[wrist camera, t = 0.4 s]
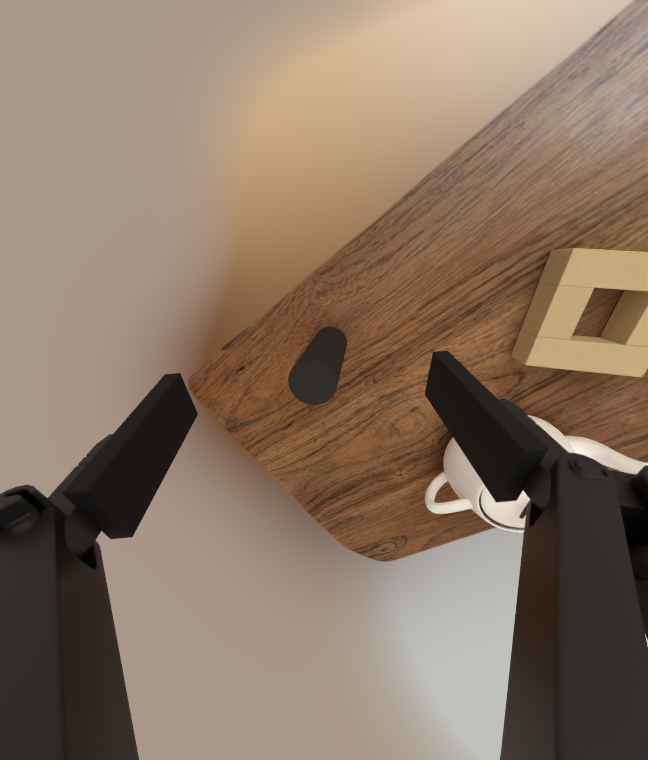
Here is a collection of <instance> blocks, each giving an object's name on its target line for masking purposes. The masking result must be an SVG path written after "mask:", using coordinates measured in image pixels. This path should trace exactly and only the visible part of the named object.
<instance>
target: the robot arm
mask: <svg viewBox="0 0 648 760" xmlns="http://www.w3.org/2000/svg"><path fill="white" fill-rule="evenodd" d="M425 395H426V397H427V398H428V400H429V401H430V403H431V404H432V406H433V408H434V409H435V411H436V412H437V414H438V415H439V417H440V418H441V420H442V421H443V423H444V424H445V426H446V427H447V429H448V430H449V432H450V433H451V435H452V436H453V438H454V439H455V441H456V442H457V444H458V446H459V447H460V449H461V450H462V452H463V453H464V455H465V456H466V458H467V459H468V461H469V462H470V464H471V465H472V467H473V468H474V470H475V471H476V473H477V474H478V476H479V477H480V479H481V480H482V482H483V484H484V485H485V487H486V488H487V490H488V491H489V493H490V494H491V496H492V497H493V499H494V500H495V502H496V503H497V502H507V501H517V499H518V498H519V496H520V494H521V493H522V491H524V492H525V494H526V495H527V496H528V497H529V499H530V500H529V502H528V503H527V505H526V506H525V508H524V509H523V511H522V512H521V514H520V516H519V517H520V518H522V519H523V518H524V516H525V515H526V519H525V528H524V538H523V547H522V557H521V567H520V576H519V586H518V595H517V605H516V615H515V625H514V634H513V643H512V654H511V662H510V672H509V682H508V692H507V702H506V710H505V721H504V730H503V739H502V749H501V757H500V760H648V647H647V642H646V637H645V634H646V636H647V639H648V465H647V466H644V467H643V468H642V469H641V470H640V471H639V472H638V473H637V474H630V473H624V472H618V471H611V470H608V469H607V468H606V467H605V466H604V465H602V464H601V463H599V462H597V461H596V460H594V459H592V458H590V457H587V456H585V455H582V454H577V453H569V452H568V451H567V450H566V449H564V448H563V447H562V446H561V445H560V444H559V443H558V442H557V441H556V440H555V439H553V438H552V437H551V436H550V435H549V434H548V433H547V432H546V431H545V430H544V429H542V428H541V427H540V426H539V425H538V424H536V422H535V421H534V420H533V419H532V418H530V417H528V415H527V414H526V413H525V412H524V411H523V410H522V409H521V408H519V407H518V406H517V405H515V404H513V403H511V402H509V401H508V400H506V399H500V400H498V399H497V398H496V397H495V396H494V395H493V394H492V393H491V392H490V391H489V390H487V389H486V388H485V387H484V386H483V385H482V384H481V383H480V382H479V381H478V380H477V379H476V378H475V377H474V376H473V375H472V374H471V373H470V372H469V371H468V370H467V369H466V368H465V367H464V366H463V365H462V364H461V363H460V362H459V361H458V360H457V359H456V358H455V357H453V356H452V355H451V354H450V353H449V352H448V351H438V352H433V355H432V360H431V365H430V370H429V375H428V380H427V386H426V391H425ZM197 415H198V414H197V411H196V409H195V406H194V404H193V402H192V399H191V397H190V395H189V393H188V390H187V388H186V386H185V384H184V381H183V379H182V377H181V374H180V373H177V374H165V375H164V376H163V377H162V379H161V380H160V381H159V382H158V383H157V385H155V387H154V388H153V389H152V390H151V391H150V392H149V393H148V395H147V396H146V397H145V398H144V399H143V400H142V402H141V403H140V404H139V405H138V406H137V407H136V409H135V410H134V411H133V412H132V413H131V414H130V415H129V417H128V418H127V419H126V420H125V421H124V422H123V423H122V425H121V426H120V427H119V428H118V429H117V430H116V432H115V433H114V434H110V435H108V436H107V437H106V438H104V439H103V440H102V441H100V442H99V443H97V444H96V445H95V446H94V447H93V448H92V450H91V451H90V452H89V453H88V454H87V457H84V458H83V460H82V461H81V462H80V463H79V466H77V467H75V468H74V470H73V471H72V472H71V473H70V474H69V475H68V476H67V477H66V478H65V480H64V481H63V482H62V483H61V484H60V485H59V486H58V487H57V489H55V491H54V492H53V493H52V494H51V495H50V496H49V497H48V498H46V497H45V496H44V495H43V494H42V493H41V492H40V491H38V490H37V489H36V488H35V487H34V486H30V485H24V486H18V487H15V488H12V489H10V490H7V491H5V492H3V493H1V494H0V760H139V757H138V752H137V746H136V741H135V735H134V730H133V725H132V719H131V714H130V709H129V703H128V698H127V692H126V686H125V681H124V676H123V670H122V664H121V659H120V654H119V648H118V643H117V637H116V632H115V627H114V621H113V615H112V610H111V604H110V599H109V594H108V588H107V583H106V577H105V572H104V567H103V561H102V556H101V550H100V546H99V544H98V543H97V542H96V541H95V540H96V538H97V536H98V535H99V534H100V532H101V531H102V532H104V533H105V534H106V535H107V536H108V537H109V538H110V539H117V538H127V537H133V535H134V533H135V531H136V529H137V527H138V525H139V523H140V522H141V520H142V518H143V516H144V514H145V512H146V510H147V509H148V507H149V505H150V503H151V501H152V499H153V497H154V495H155V494H156V492H157V490H158V488H159V486H160V484H161V482H162V480H163V479H164V477H165V475H166V473H167V471H168V469H169V467H170V465H171V464H172V461H173V460H174V458H175V456H176V454H177V452H178V450H179V449H180V447H181V445H182V443H183V441H184V439H185V437H186V435H187V433H188V431H189V429H190V428H191V426H192V424H193V422H194V420H195V418H196V417H197Z"/></svg>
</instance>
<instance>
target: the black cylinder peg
mask: <svg viewBox="0 0 648 760" xmlns="http://www.w3.org/2000/svg"><path fill="white" fill-rule="evenodd" d="M346 345H347V341H346V337H345V335H344V334H343V333H342V331H340V330H339V329H337V328H334V327H326V328H323V329H321V330H320V331H319V332H318V333H317V334H316V336H315V337H314V339H313V340H312V341H311V343H310V344H309V346H308V347H307V348H306V350H305V351H304V353H303V354H302V356H301V357H300V358H299V360H298V361H297V363H296V364H295V365H294V367H293V368H292V370H291V371H290V374H289V379H288V381H289V387H290V389H291V391H292V393H293V394H294V396H295V397H296V398H297V399H299V400H300V401H302V402H304V403H307V404H311V405H318V404H322V403H325V402H327V401H328V400H330V399H331V398H332V397H333V395H334V394H335V392H336V388H337V384H338V380H339V375H340V371H341V367H342V363H343V358H344V354H345V350H346Z"/></svg>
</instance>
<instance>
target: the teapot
mask: <svg viewBox="0 0 648 760" xmlns="http://www.w3.org/2000/svg"><path fill="white" fill-rule="evenodd" d="M528 417H530V418H532V419H533V420H534V421H535V422H536V424H538V425H539V426H540V427H541V428H542V429H544V430H545V431H546V432H547V433H548V434H549V435H550V436H551V437H552V438H553V439H555V440H556V441H557V442H558V443H559V444H560V445H561V446H562V447H563V448H564V449H566V450H567V451H568V452H569V453H577V454H582V455H585V456H587V457H590V458H592V459H594V460H596V461H597V462H599V463H601V464H602V465H605V466H608V467H611V468H614V469H617V470H620V471H622V472H626V473H630V474H637V473H638V472H639V471H640V470H641V469H642V468H643V467H644V466H647V465H648V463H644V462H641V461H637V460H634V459H631V458H628V457H626V456H624V455H622V454H620V453H618V452H616V451H614V450H612V449H610V448H609V447H607V446H605V445H603V444H601V443H598V442H596V441H594V440H591V439H587V438H584V437H576V436H564V435H563V434H562V433H561V432H560V431H559V430H558V429H557V428H555V427H554V426H553V425H551V424H550V423H548V422H546V421H544V420H542V419H540V418H537V417H535V416H530V415H528ZM443 467H444V471H443V472H442V473H440V474H439V475H438V476H437V477H436V478H435V479H434V480H433V481H432V482H431V483H430V485H429V486H428V488H427V490H426V493H425V503H426V506H427V508H428V509H429V510H430V511H431V512H433V513H436V514H444V513H452V512H457V511H462V510H467V509H472V510H473V511H474V512H475V513H476V514H478V515H479V516H480V517H481V518H483V519H484V520H485V521H486V522H488V523H490V524H491V525H493V526H495V527H497V528H500V529H503V530H507V531H512V532H524V528H525V519H526V515H525V516H524V518H523V519H522V518H520V517H519V516H520V514H521V512H522V511H523V509H524V508H525V506H526V505H527V503H528V502H529V500H530V499H529V497H528V496H527V495H526V494H525V492H524V491H522V493H521V494H520V496H519V498H518V499H517V501H507V502H497V503H496V502H495V500H494V499H493V497H492V496H491V494H490V493H489V491H488V490H487V488H486V487H485V485H484V484H483V482H482V480H481V479H480V477H479V476H478V474H477V473H476V471H475V470H474V468H473V467H472V465H471V464H470V462H469V461H468V459H467V458H466V456H465V455H464V453H463V452H462V450H461V449H460V447H459V446H458V444H457V442H456V441H455V439H454V438H453V437H452V439H451V440H450V441H449V443H448V445H447V447H446V449H445V454H444V458H443ZM447 481H448V482H449V484H450V485H451V487H452V488H453V490H454V491H455V493H456V494H457V495H458V496H459V498H460V499H459V500H454V501H450V502H444V503H434V499H435V495H436V493H437V491H438V490H439V489H440V487H441V486H442V485H443V484H444V483H446V482H447Z"/></svg>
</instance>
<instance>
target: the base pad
mask: <svg viewBox="0 0 648 760" xmlns="http://www.w3.org/2000/svg"><path fill="white" fill-rule="evenodd" d="M594 288H605V289H619V290H624V292H623V293H622V295H621V297H620V299H619V301H618V303H617V305H616V307H615V309H614V311H613V313H612V314H611V316H610V318H609V320H608V322H607V324H606V326H605V328H604V330H603V332H602V334H601V336H600V337H590V336H579V335H572V334H573V332H574V330H575V328H576V326H577V324H578V321H579V319H580V317H581V315H582V313H583V311H584V309H585V307H586V305H587V303H588V300H589V298H590V296H591V294H592V292H593V290H594ZM511 357H513V358H514V359H516V360H518V361H519V362H521V363H522V364H524V365H527V366H537V367H547V368H556V369H566V370H576V371H585V372H595V373H605V374H615V375H624V376H634V377H642V376H643V375H644V373H645V372H646V370H647V369H648V252H635V251H617V250H600V249H582V248H569V249H558V250H551V252H550V255H549V257H548V260H547V263H546V265H545V268H544V270H543V273H542V275H541V278H540V281H539V284H538V286H537V289H536V291H535V294H534V297H533V299H532V302H531V304H530V307H529V309H528V312H527V315H526V317H525V320H524V322H523V325H522V328H521V331H520V333H519V335H518V338H517V340H516V343H515V346H514V348H513V351H512V353H511Z"/></svg>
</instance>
